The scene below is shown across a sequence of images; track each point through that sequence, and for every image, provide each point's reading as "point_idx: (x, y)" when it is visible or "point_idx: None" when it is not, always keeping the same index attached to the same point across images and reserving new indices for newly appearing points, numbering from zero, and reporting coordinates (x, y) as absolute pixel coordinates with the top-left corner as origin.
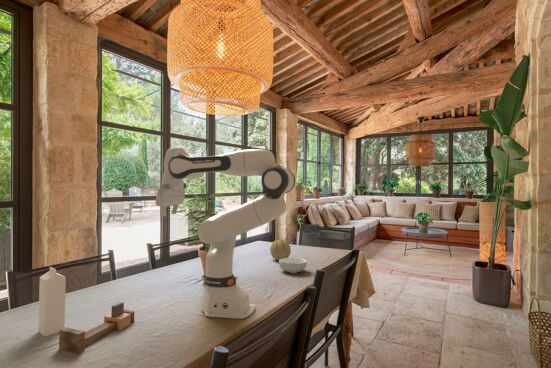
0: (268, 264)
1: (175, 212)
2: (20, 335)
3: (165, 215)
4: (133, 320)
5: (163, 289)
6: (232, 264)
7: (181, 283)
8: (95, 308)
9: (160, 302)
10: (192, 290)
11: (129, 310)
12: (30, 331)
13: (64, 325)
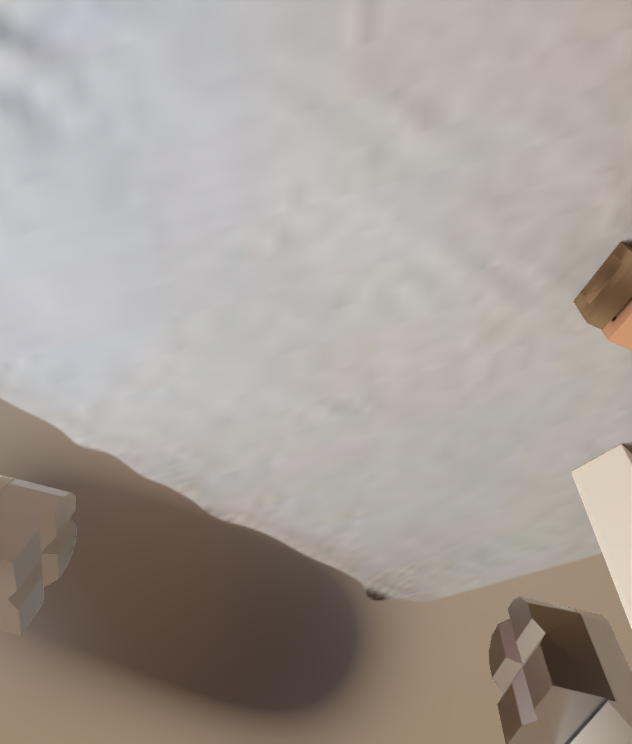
0: None
1: (23, 509)
2: None
3: (578, 617)
4: (627, 246)
5: (178, 221)
6: None
7: (58, 140)
8: (423, 422)
9: (378, 185)
10: (171, 28)
11: (620, 284)
12: None
13: (627, 455)
